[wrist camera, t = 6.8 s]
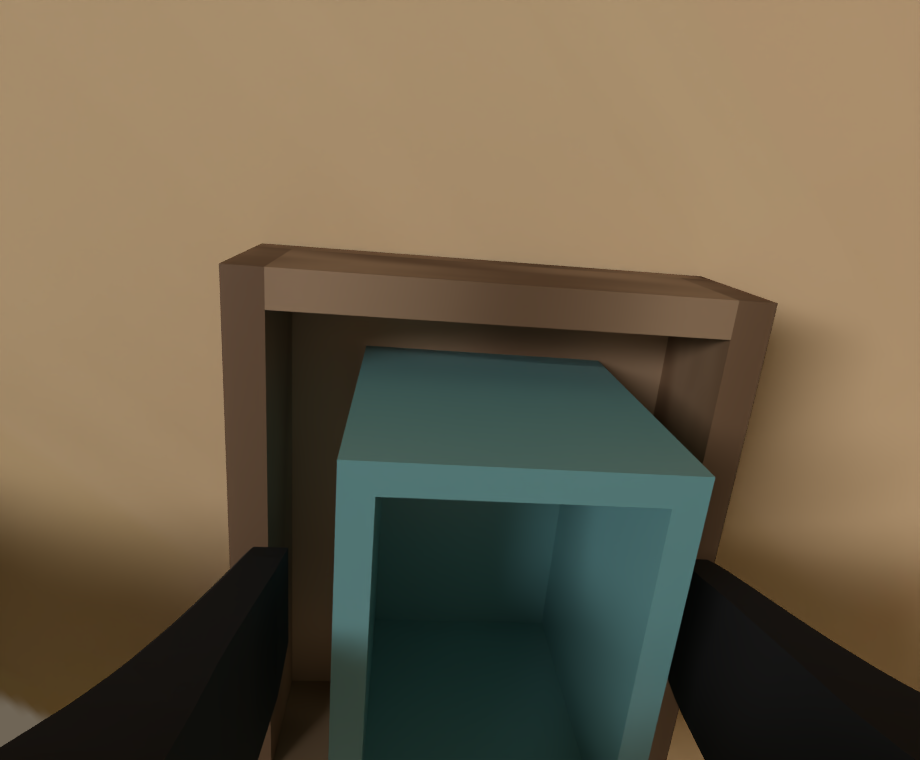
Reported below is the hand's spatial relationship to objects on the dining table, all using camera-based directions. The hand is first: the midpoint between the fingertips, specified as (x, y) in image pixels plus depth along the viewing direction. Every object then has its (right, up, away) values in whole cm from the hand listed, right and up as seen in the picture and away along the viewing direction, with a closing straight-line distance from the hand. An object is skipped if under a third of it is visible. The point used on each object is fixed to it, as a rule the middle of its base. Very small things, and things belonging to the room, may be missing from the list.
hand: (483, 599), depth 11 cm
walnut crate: (0, +1, +3) cm, 4 cm away
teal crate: (0, +1, +3) cm, 3 cm away
